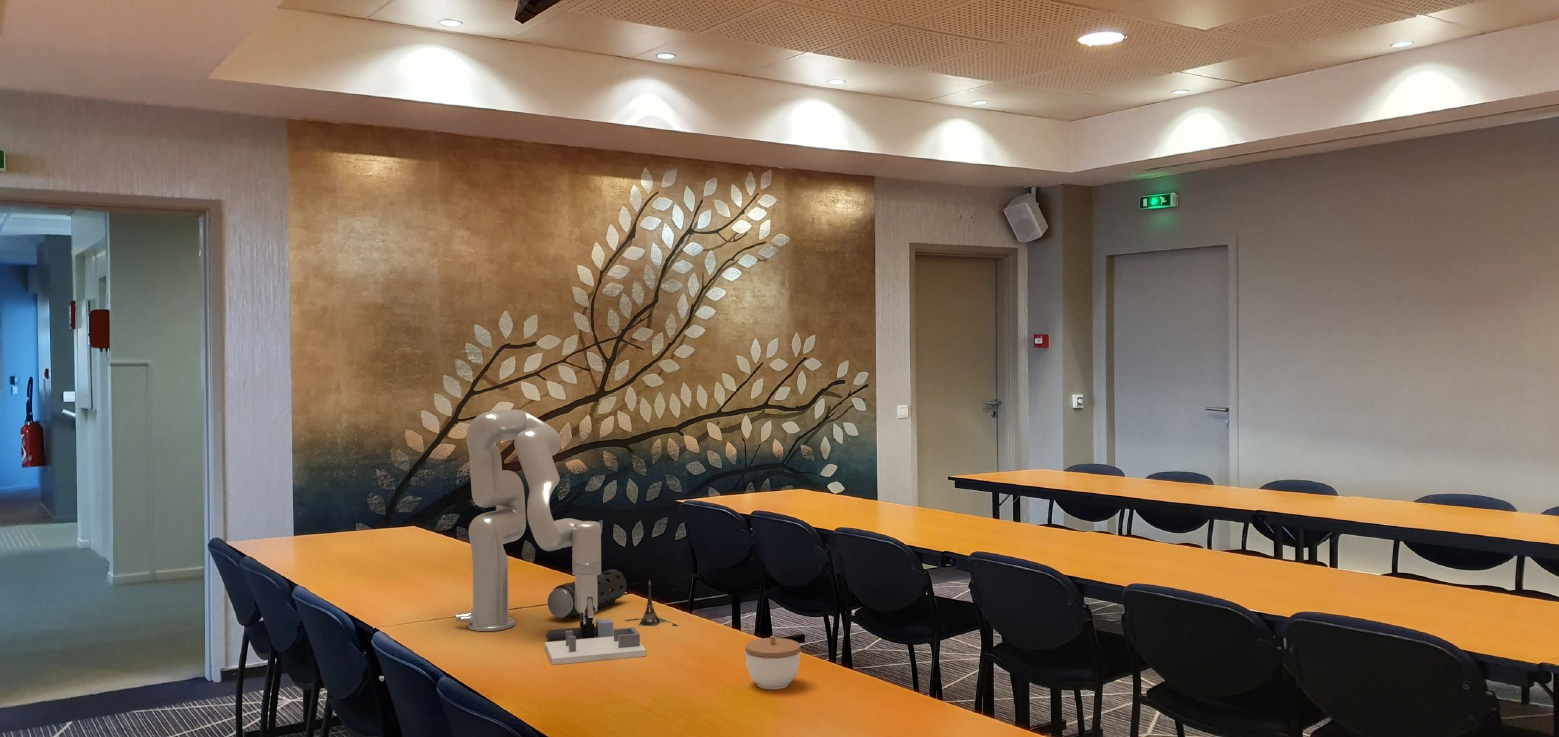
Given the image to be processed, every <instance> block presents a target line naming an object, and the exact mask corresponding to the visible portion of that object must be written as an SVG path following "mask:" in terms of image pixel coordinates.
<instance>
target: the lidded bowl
mask: <svg viewBox="0 0 1559 737" xmlns="http://www.w3.org/2000/svg"><path fill="white" fill-rule="evenodd" d="M801 647H802V646H801V644H800V643H799V642H798V641H796V640H793V639H789V638H781V637H776V636H775V635H770V637H765V638H758V639H754V640H751V641H749V642H747V643H746V644H745V646H744V650H745V664H746V667H747V669H746V670H747V671H748V674H749V677H750V678H751V679H752V680H753V682H755V684H756V685H757V687H758V688H761V689H764V690H772V691H773V690H774V691H775V690H782V689H786V688H788V687H789V684H790V683H792V681H793V680H794V679H795V677H796V676H797V674H798V672H799V667H800V664H801V663H800V662H801V649H802V648H801Z"/></svg>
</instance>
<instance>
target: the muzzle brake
mask: <svg viewBox="0 0 1559 737" xmlns="http://www.w3.org/2000/svg"><path fill="white" fill-rule="evenodd" d="M625 577H626V576H625V575H624V574H623V573H622V572H621V571H619V570H618V569H609V570H606V571H601V574H599V575H597V591H598V605H597V609H600V608H602V607H606V606H608V605H610V604H614V603H616V600H618V599H620V598H622V597H623V596H624V595H625V593H626V592H627V589H628V588H627V587H628V586H627V580H626V578H625ZM574 603H575V581H572V582H565V583H563V584H559V585H557V586H555V588H553V590H552V591H550V593H549V595H548V597H547V607H548V610H549V613H550V614H552V616H554V617H555V618H558V619H570V618H571V619H576V618H578V617H580V614H579V613H578V611H577V610H576V608H575V605H574Z"/></svg>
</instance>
